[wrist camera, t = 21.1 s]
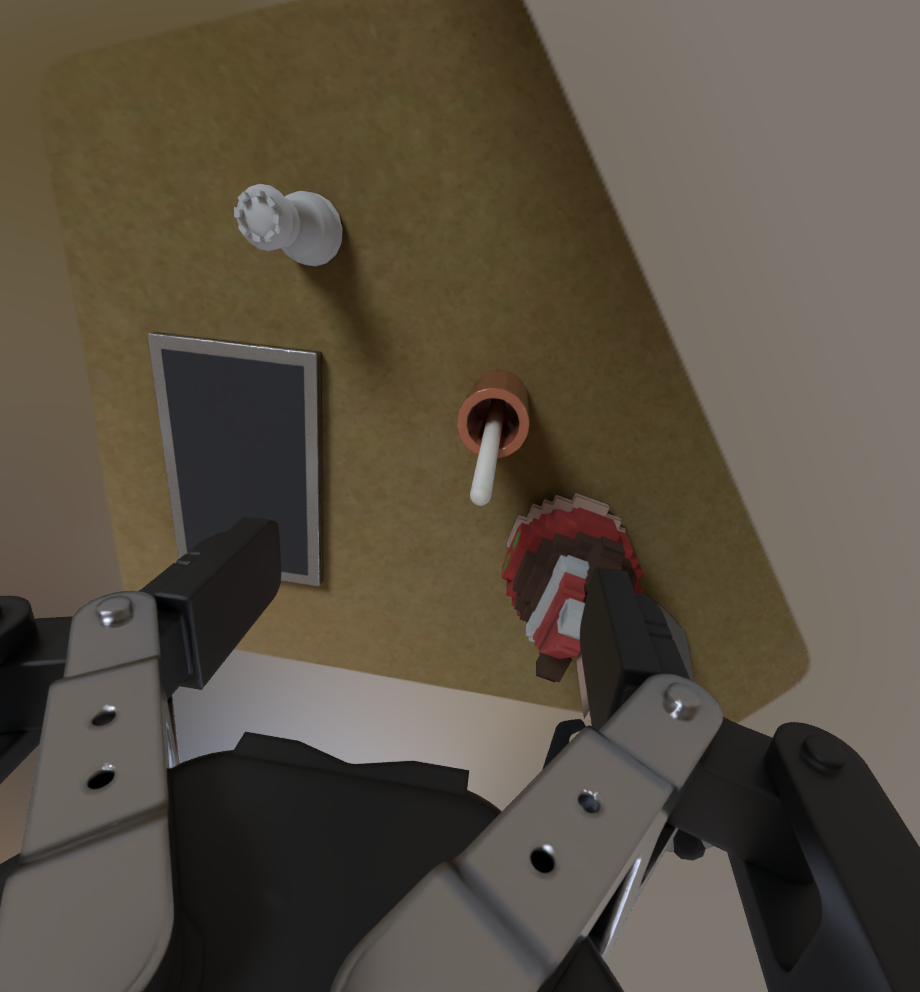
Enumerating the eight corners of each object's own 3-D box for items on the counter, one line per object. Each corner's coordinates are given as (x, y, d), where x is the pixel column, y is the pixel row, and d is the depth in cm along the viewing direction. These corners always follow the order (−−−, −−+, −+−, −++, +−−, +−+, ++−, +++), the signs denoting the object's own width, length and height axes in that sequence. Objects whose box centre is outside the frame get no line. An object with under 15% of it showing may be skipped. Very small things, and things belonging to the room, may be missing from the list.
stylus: (492, 390, 37) (469, 490, 26) (507, 391, 37) (491, 494, 26) (490, 404, 37) (468, 508, 27) (505, 406, 37) (488, 511, 27)
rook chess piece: (335, 276, 36) (286, 274, 28) (275, 252, 36) (210, 243, 28) (352, 207, 34) (304, 186, 27) (289, 182, 34) (223, 153, 26)
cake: (592, 614, 44) (632, 814, 27) (490, 577, 43) (468, 756, 27) (650, 508, 39) (740, 669, 23) (537, 467, 39) (546, 599, 23)
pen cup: (472, 367, 37) (461, 384, 31) (532, 374, 37) (534, 393, 30) (466, 425, 39) (454, 453, 32) (523, 433, 38) (523, 462, 32)
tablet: (156, 332, 39) (146, 333, 38) (321, 351, 38) (315, 353, 37) (185, 559, 47) (178, 565, 46) (323, 580, 46) (318, 587, 45)
